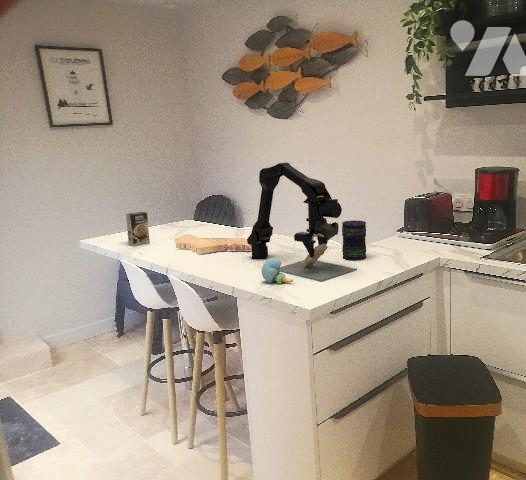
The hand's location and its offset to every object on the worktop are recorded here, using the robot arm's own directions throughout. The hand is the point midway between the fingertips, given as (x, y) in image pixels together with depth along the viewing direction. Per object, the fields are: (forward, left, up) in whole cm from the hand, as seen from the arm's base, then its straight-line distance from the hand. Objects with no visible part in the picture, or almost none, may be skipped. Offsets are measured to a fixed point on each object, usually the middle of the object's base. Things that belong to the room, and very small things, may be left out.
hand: (317, 256), depth 194 cm
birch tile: (-4, +4, -5) cm, 7 cm away
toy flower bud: (-14, -14, -6) cm, 21 cm away
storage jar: (+16, +18, -6) cm, 25 cm away
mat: (-1, +1, -6) cm, 6 cm away
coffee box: (-88, +60, -6) cm, 107 cm away
